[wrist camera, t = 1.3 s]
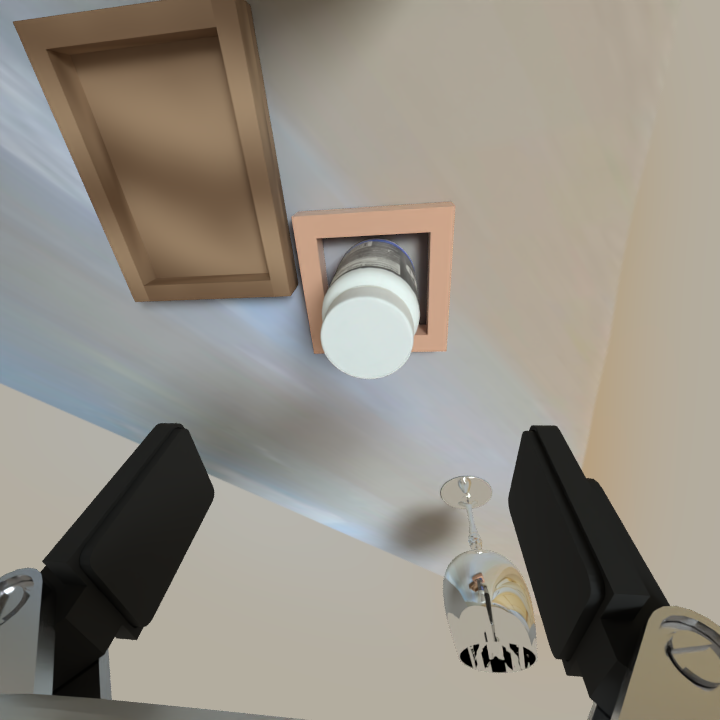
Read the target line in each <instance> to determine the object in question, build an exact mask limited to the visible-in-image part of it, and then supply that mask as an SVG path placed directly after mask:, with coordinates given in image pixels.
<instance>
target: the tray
mask: <svg viewBox="0 0 720 720" xmlns="http://www.w3.org/2000/svg"><path fill="white" fill-rule="evenodd" d="M13 24H14V26H15V28H16V30H17V33H18V35H19V37H20V40H21V42H22V44H23V46H24V49H25V51H26V53H27V56H28V58H29V60H30V63H31V65H32V67H33V69H34V72H35V74H36V76H37V79H38V81H39V83H40V85H41V88H42V90H43V92H44V95H45V97H46V99H47V101H48V104H49V106H50V108H51V111H52V113H53V115H54V117H55V120H56V122H57V124H58V127H59V129H60V131H61V133H62V136H63V138H64V140H65V143H66V145H67V147H68V149H69V152H70V154H71V156H72V159H73V161H74V163H75V165H76V168H77V170H78V172H79V175H80V177H81V179H82V182H83V184H84V186H85V188H86V191H87V193H88V195H89V198H90V200H91V202H92V204H93V207H94V209H95V211H96V214H97V216H98V218H99V220H100V223H101V225H102V227H103V230H104V232H105V234H106V236H107V239H108V241H109V243H110V246H111V248H112V250H113V252H114V255H115V257H116V259H117V262H118V264H119V266H120V268H121V271H122V273H123V275H124V278H125V280H126V282H127V285H128V287H129V289H130V291H131V294H132V296H133V298H134V301H135V302H144V301H171V300H198V299H225V298H252V297H279V296H291V295H292V293H293V292H294V290H295V289H296V287H297V286H298V278H297V272H296V266H295V261H294V255H293V249H292V243H291V238H290V232H289V226H288V220H287V215H286V209H285V203H284V197H283V191H282V186H281V180H280V174H279V168H278V163H277V157H276V151H275V145H274V139H273V134H272V128H271V122H270V116H269V111H268V105H267V99H266V93H265V87H264V82H263V76H262V70H261V64H260V59H259V53H258V47H257V41H256V35H255V30H254V24H253V18H252V12H251V7H250V5H249V4H248V3H247V2H246V1H245V0H161V1H154V2H147V3H140V4H133V5H126V6H119V7H112V8H105V9H98V10H91V11H84V12H77V13H70V14H63V15H56V16H49V17H42V18H35V19H28V20H21V21H14V22H13Z"/></svg>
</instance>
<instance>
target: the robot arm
mask: <svg viewBox="0 0 720 720" xmlns="http://www.w3.org/2000/svg"><path fill="white" fill-rule="evenodd" d="M213 498H214V488H213V485H212V483H211V481H210V479H209V476H208V474H207V472H206V469H205V467H204V465H203V463H202V460H201V458H200V456H199V453H198V451H197V449H196V446H195V444H194V442H193V440H192V437H191V435H190V433H189V431H188V430H187V429H185V428H184V427H183V425H181V424H178V423H160V424H158V425H156V426H155V427H154V428H153V430H152V431H151V432H150V433H149V434H148V436H147V437H146V438H145V439H144V440H143V442H142V443H141V444H140V445H139V446H138V448H137V449H136V450H135V451H134V452H133V454H132V455H131V456H130V457H129V458H128V459H127V461H126V462H125V463H124V464H123V465H122V467H121V468H120V469H119V470H118V472H117V473H116V474H115V475H114V476H113V478H112V479H111V480H110V481H109V482H108V483H107V485H106V486H105V487H104V488H103V489H102V491H101V492H100V493H99V494H98V495H97V496H96V498H95V499H94V500H93V501H92V502H91V504H90V505H89V506H88V507H87V508H86V510H85V511H84V512H83V513H82V514H81V516H80V517H79V518H78V519H77V521H76V522H75V523H74V524H73V525H72V527H71V528H70V529H69V530H68V531H67V532H66V534H65V535H64V536H63V537H62V538H61V540H60V541H59V542H58V543H57V544H56V545H55V547H54V548H53V549H52V550H51V551H50V553H49V554H48V555H47V556H46V557H45V559H44V560H43V561H42V562H43V563H44V564H45V565H46V566H45V567H44V569H43V570H42V571H41V572H39V571H38V570H37V569H33V568H24V569H18V570H15V571H13V572H10V573H8V574H5V575H3V576H2V577H1V578H0V720H303V719H293V718H284V717H274V716H264V715H256V714H246V713H236V712H227V711H217V710H207V709H197V708H186V707H178V706H166V705H157V704H147V703H137V702H127V701H116V700H112V698H111V683H110V669H109V653H108V648H109V646H110V644H111V642H112V641H113V639H114V637H116V638H120V639H131V640H137V639H138V637H139V635H140V633H141V631H142V629H143V627H145V626H147V625H148V624H149V623H150V622H151V620H152V619H153V617H154V615H155V613H156V611H157V609H158V607H159V605H160V603H161V601H162V599H163V597H164V595H165V593H166V591H167V589H168V587H169V586H170V584H171V582H172V580H173V578H174V575H175V574H176V572H177V570H178V568H179V566H180V564H181V562H182V560H183V558H184V556H185V554H186V552H187V550H188V548H189V546H190V544H191V542H192V540H193V538H194V536H195V534H196V532H197V531H198V529H199V527H200V525H201V523H202V521H203V519H204V517H205V515H206V513H207V511H208V509H209V507H210V505H211V503H212V501H213ZM508 503H509V510H510V514H511V517H512V520H513V524H514V527H515V531H516V534H517V537H518V541H519V544H520V547H521V551H522V554H523V558H524V561H525V564H526V568H527V571H528V574H529V578H530V581H531V585H532V588H533V591H534V595H535V598H536V601H537V605H538V608H539V612H540V615H541V618H542V621H543V625H544V628H545V632H546V635H547V639H548V642H549V645H550V648H551V651H552V653H553V655H554V657H555V658H556V659H562V662H563V665H564V668H565V671H566V674H567V675H568V676H581V677H583V680H584V682H585V685H586V688H587V691H588V694H589V697H590V698H591V699H592V700H593V701H594V702H593V705H592V708H591V711H590V714H589V717H588V719H587V720H720V626H718V625H717V624H716V623H714V622H713V621H711V620H710V619H709V618H707V617H705V616H703V615H701V614H699V613H697V612H695V611H692V610H690V609H686V608H682V607H678V606H670V605H669V603H668V602H667V600H666V598H665V596H664V595H663V593H662V591H661V589H660V588H659V586H658V584H657V582H656V581H655V579H654V577H653V576H652V574H651V572H650V570H649V568H648V567H647V565H646V563H645V562H644V560H643V558H642V556H641V555H640V553H639V551H638V549H637V548H636V546H635V544H634V543H633V541H632V539H631V537H630V536H629V534H628V532H627V530H626V529H625V527H624V525H623V523H622V522H621V520H620V518H619V517H618V515H617V513H616V512H615V510H614V508H613V506H612V504H611V503H610V501H609V499H608V497H607V496H606V494H605V492H604V491H603V489H602V487H601V486H600V485H599V483H598V482H597V481H595V480H594V479H589V478H586V477H585V476H584V474H583V472H582V470H581V468H580V466H579V465H578V463H577V461H576V459H575V457H574V455H573V454H572V452H571V450H570V448H569V446H568V445H567V443H566V441H565V439H564V437H563V435H562V434H561V432H560V430H559V429H558V427H557V426H536V425H533V426H531V427H530V430H529V431H524V432H523V434H522V438H521V442H520V447H519V451H518V456H517V460H516V465H515V470H514V474H513V479H512V483H511V488H510V492H509V498H508Z"/></svg>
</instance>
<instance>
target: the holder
mask: <svg viewBox="0 0 720 720" xmlns="http://www.w3.org/2000/svg"><path fill="white" fill-rule="evenodd" d="M454 219H455V205H454V204H453V203H452V202H438V203H422V204H407V205H392V206H376V207H361V208H346V209H331V210H315V211H300V212H297V213H296V214H294V215H293V216H292V223H293V229H294V235H295V241H296V247H297V253H298V259H299V265H300V271H301V277H302V283H303V289H304V295H305V301H306V307H307V313H308V319H309V325H310V331H311V337H312V343H313V349H314V354H321V353H324V350H323V348H322V344H321V335H320V334H321V327H322V323H323V321H322V306H323V300H324V296H325V294H326V292H327V290H328V281H327V273H326V265H325V257H324V249H323V242H322V238H334V237H351V236H369V235H387V234H405V233H423V232H428V272H427V312H426V324H418V328H417V331H416V333H415V335H414V341H413V348H412V351H411V352H434V351H446V350H447V334H448V317H449V301H450V284H451V268H452V252H453V235H454Z"/></svg>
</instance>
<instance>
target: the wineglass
mask: <svg viewBox="0 0 720 720" xmlns="http://www.w3.org/2000/svg"><path fill="white" fill-rule="evenodd" d="M491 496H492V488H491V486H490V485H489V484H488V483H487V482H486V481H485V480H483V479H481V478H478V477H473V476H462V477H457V478H454V479H451V480H450V481H448V482H447V483H445V484H444V486H443V487H442V489H441V497H442V499H443V500H444V502H445V503H447V504H448V505H450V506H452V507H454V508H458V509H466V510H467V515H468V520H469V536H468V537H469V540H468V541H469V544H470V547H471V549H472V550H470V551H466V552H464V553H461V554H460V555H458V556H456V557H455V558H454V559H453V560H452V561H451V562H450V564H449V565H448V567H447V569H446V572H445V575H444V580H443V597H444V606H445V611H446V616H447V620H448V624H449V628H450V631H451V634H452V638H453V641H454V644H455V648H456V651H457V654H458V657H459V660H460V661H461V662H462V663H463V664H464V665H466V666H468V667H470V668H473V669H476V670H479V671H485V672H492V673H508V672H517V671H522V670H525V669H527V668H530V667H531V666H533V665H534V664H535V663H536V662H537V642H536V626H535V618H534V612H533V606H532V601H531V597H530V593H529V590H528V587H527V585H526V583H525V580H524V578H523V576H522V574H521V573H520V571H519V570H518V568H517V567H516V566H515V565H514V564H513V563H512V562H511V561H510V560H509V559H507V558H506V557H505V556H503V555H501V554H499V553H496V552H494V551H490V550H482V540H481V537H480V535H479V534H478V531H477V528H476V525H475V522H474V517H473V512H472V509H473V508H477V507H480V506H482V505H484V504H486V503H487V502H488V501H489V500H490V498H491Z"/></svg>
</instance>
